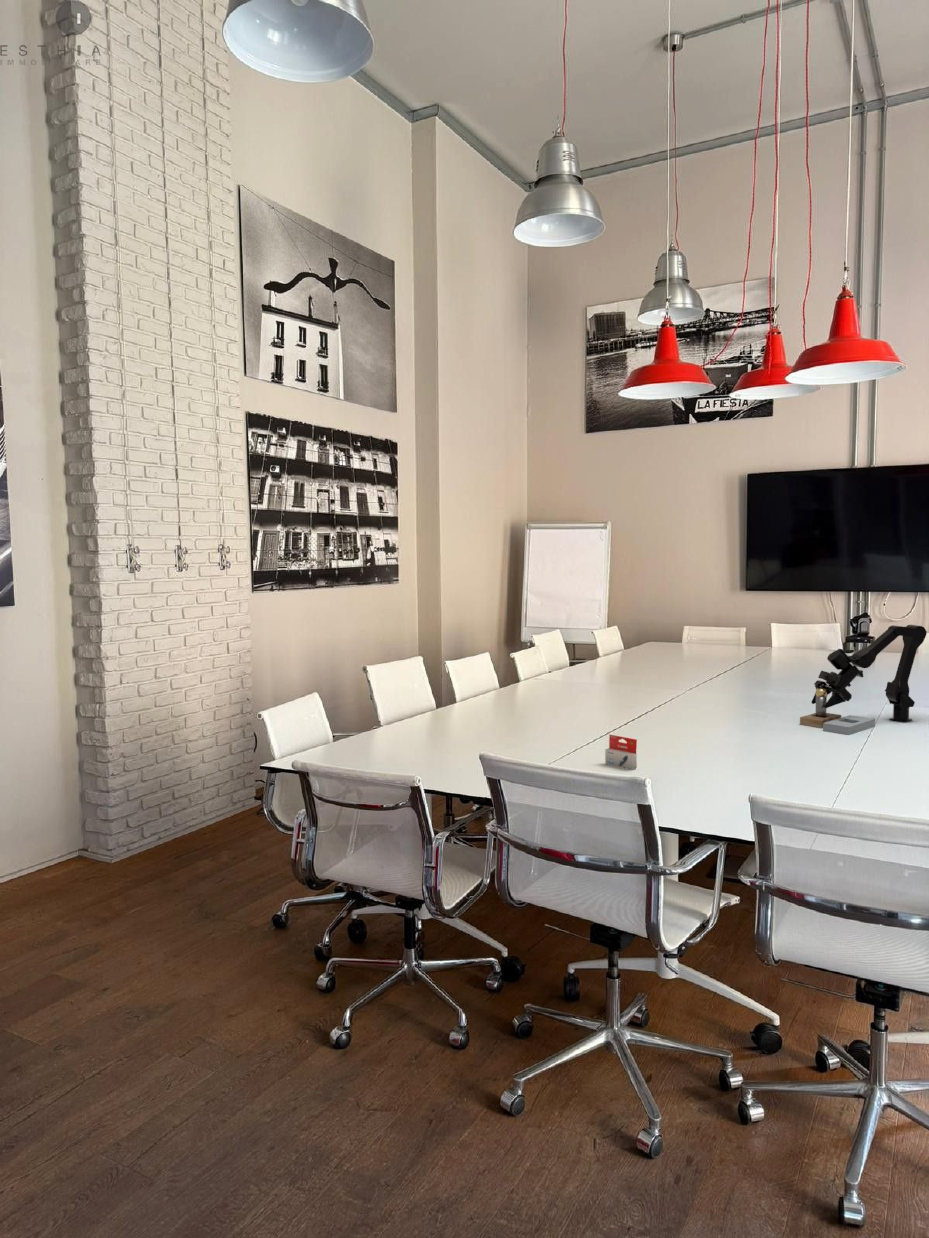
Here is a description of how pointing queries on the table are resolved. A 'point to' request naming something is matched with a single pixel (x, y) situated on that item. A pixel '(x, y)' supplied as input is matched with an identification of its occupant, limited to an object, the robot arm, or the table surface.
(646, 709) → the table surface
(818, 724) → the socket block
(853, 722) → the board
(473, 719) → the table surface
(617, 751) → the ink cartridge box
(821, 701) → the gold capped metal post
